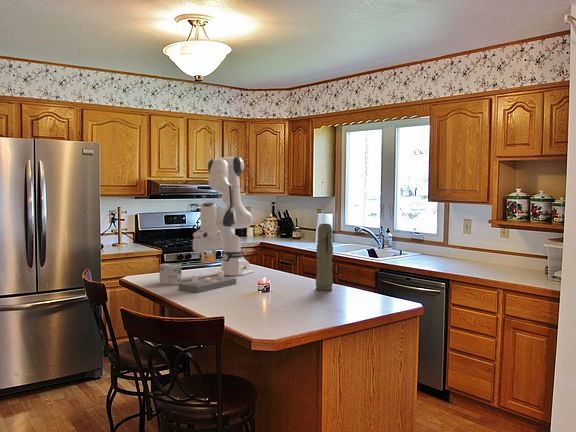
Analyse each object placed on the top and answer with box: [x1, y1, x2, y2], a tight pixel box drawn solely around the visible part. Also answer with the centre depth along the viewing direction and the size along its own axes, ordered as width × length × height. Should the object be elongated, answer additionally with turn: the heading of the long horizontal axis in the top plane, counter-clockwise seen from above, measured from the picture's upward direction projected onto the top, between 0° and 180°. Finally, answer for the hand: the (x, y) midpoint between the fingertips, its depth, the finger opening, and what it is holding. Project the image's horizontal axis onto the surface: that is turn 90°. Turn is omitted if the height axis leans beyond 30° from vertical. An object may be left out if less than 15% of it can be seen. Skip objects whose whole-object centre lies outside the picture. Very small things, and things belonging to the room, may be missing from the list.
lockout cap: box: [200, 253, 216, 264], centre depth 282 cm, size 5×5×4 cm
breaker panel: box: [178, 275, 237, 293], centre depth 283 cm, size 30×14×3 cm, turn 145°
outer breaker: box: [191, 275, 199, 284], centre depth 275 cm, size 2×2×4 cm
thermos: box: [315, 223, 334, 292], centre depth 279 cm, size 9×12×35 cm
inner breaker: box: [217, 270, 225, 279], centre depth 291 cm, size 2×2×4 cm
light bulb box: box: [159, 263, 182, 286], centre depth 290 cm, size 11×7×11 cm, turn 84°
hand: (208, 258), depth 282 cm, fingers closed on lockout cap, 5 cm apart
